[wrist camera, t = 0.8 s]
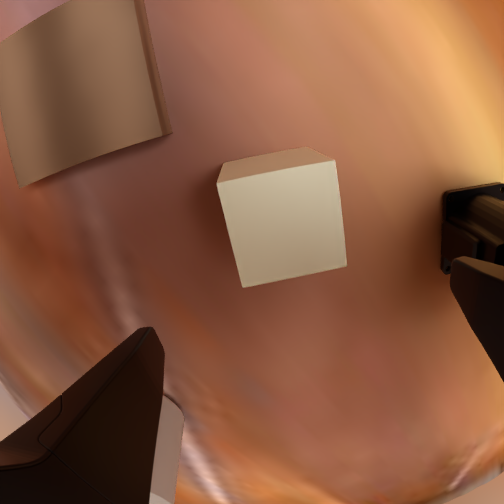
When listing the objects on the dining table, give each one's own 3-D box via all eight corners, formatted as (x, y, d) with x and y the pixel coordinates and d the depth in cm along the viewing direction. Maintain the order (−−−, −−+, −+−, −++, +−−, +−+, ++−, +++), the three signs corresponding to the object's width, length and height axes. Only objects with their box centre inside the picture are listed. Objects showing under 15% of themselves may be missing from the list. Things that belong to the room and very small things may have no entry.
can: (95, 393, 26) (58, 496, 15) (148, 370, 25) (115, 495, 14) (146, 434, 29) (128, 531, 18) (201, 418, 28) (192, 530, 17)
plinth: (143, -9, 14) (129, -26, 11) (174, 132, 18) (162, 135, 15) (17, 51, 14) (-8, 48, 12) (43, 177, 19) (19, 188, 16)
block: (306, 146, 18) (335, 160, 13) (319, 224, 20) (347, 266, 15) (223, 162, 19) (216, 183, 13) (241, 239, 21) (242, 288, 15)
